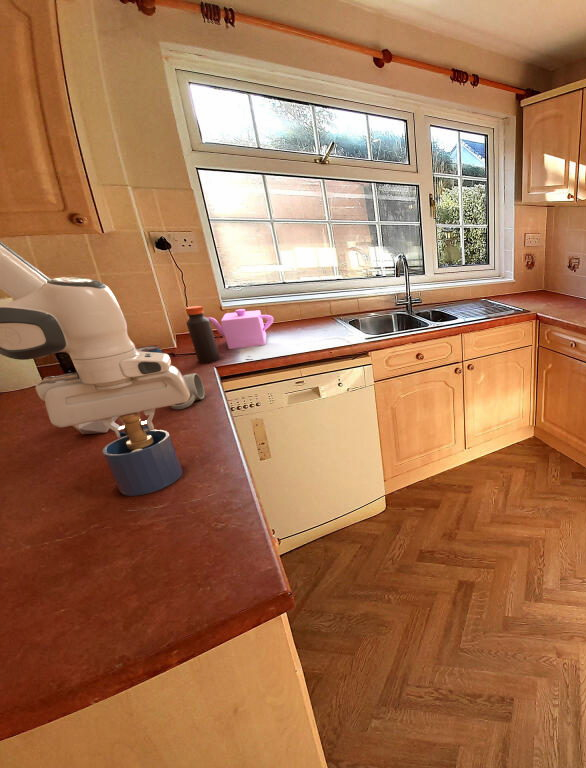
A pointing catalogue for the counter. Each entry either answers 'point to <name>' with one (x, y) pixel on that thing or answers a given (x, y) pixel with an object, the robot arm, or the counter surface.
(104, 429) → the die
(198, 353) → the bottle
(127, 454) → the cup
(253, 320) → the teapot
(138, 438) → the maple pawn
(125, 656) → the counter surface
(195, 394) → the ceramic mug
